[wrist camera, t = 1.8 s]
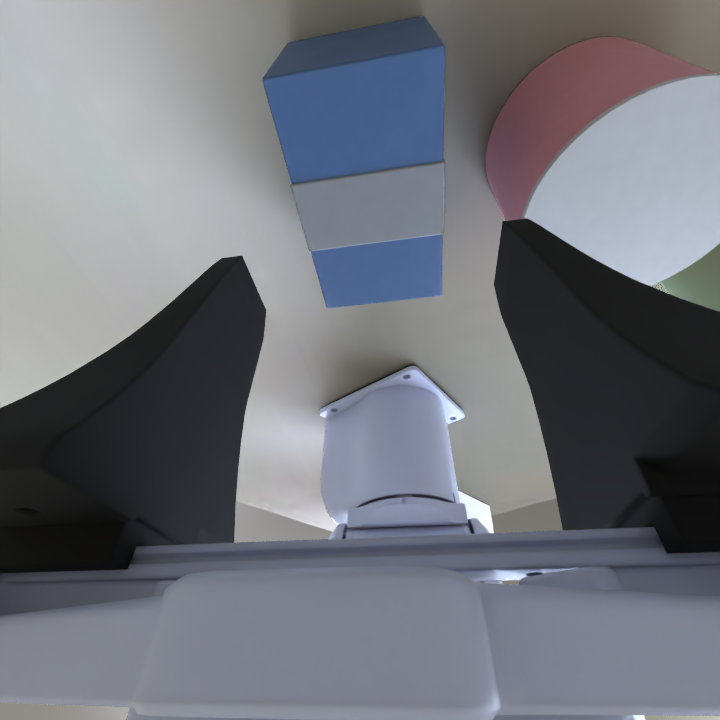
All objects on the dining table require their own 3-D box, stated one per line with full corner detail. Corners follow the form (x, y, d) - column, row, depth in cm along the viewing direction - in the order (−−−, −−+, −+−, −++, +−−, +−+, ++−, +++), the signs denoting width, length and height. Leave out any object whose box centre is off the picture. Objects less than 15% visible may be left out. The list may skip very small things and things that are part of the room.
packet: (429, 231, 20) (443, 296, 16) (332, 244, 20) (325, 310, 17) (425, 14, 13) (447, 43, 10) (286, 42, 14) (259, 79, 10)
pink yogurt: (519, 246, 20) (558, 326, 16) (453, 126, 16) (484, 194, 12) (678, 156, 17) (781, 228, 13) (649, -26, 13) (788, -6, 8)
